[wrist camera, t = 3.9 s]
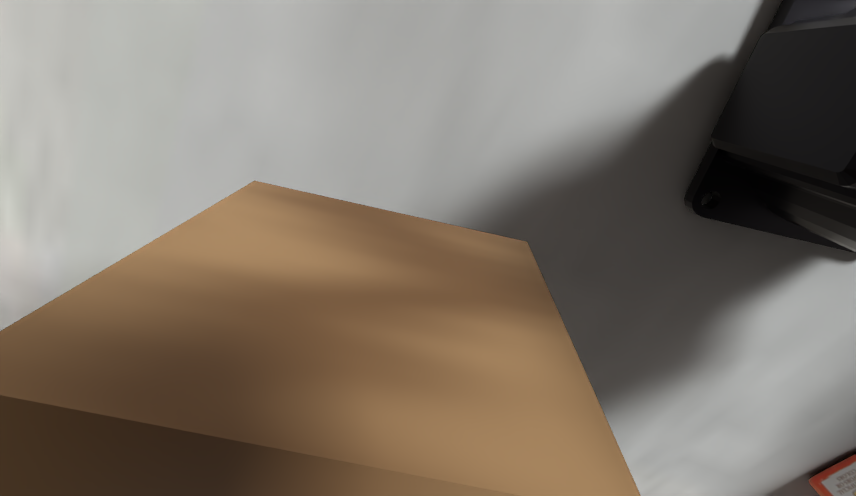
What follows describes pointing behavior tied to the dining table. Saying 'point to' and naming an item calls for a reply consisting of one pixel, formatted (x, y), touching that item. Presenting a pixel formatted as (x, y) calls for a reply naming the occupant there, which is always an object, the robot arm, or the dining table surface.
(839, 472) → the cracker box
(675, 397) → the dining table surface
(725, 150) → the robot arm
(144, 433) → the walnut cube
